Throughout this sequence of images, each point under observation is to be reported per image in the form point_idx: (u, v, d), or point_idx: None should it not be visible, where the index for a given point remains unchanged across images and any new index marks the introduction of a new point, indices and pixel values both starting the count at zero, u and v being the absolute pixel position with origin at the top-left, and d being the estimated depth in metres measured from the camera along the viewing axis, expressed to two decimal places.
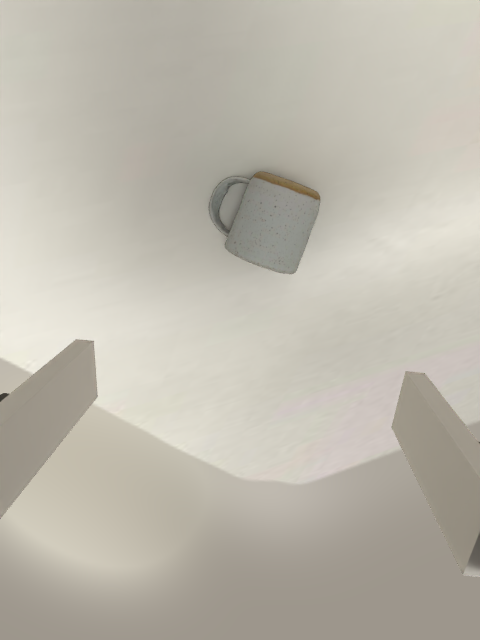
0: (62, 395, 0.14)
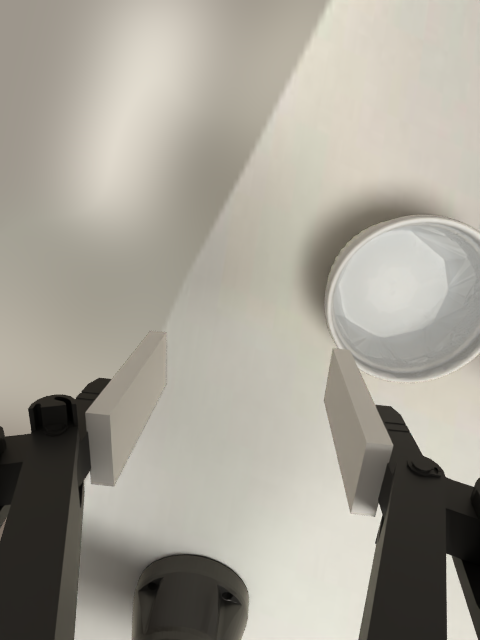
0: (148, 380, 0.15)
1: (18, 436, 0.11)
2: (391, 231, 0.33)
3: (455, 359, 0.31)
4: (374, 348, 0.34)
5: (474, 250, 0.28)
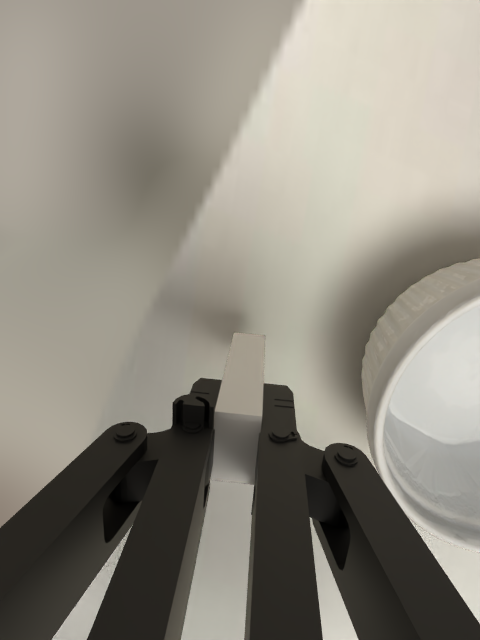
0: None
1: (153, 434, 0.12)
2: None
3: None
4: (444, 473, 0.20)
5: None
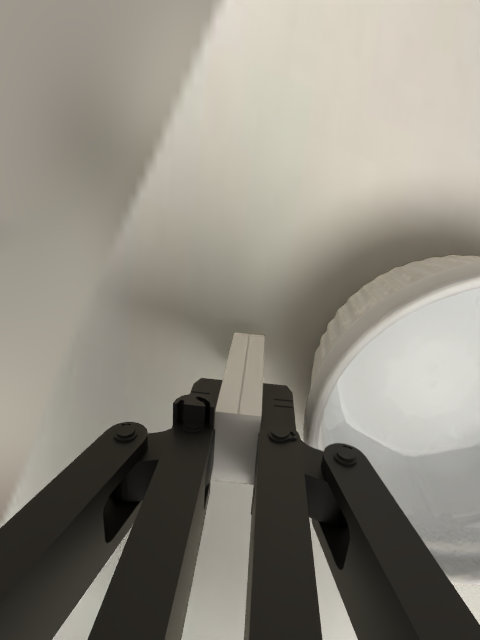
0: None
1: (153, 434, 0.12)
2: None
3: None
4: (399, 488, 0.19)
5: None
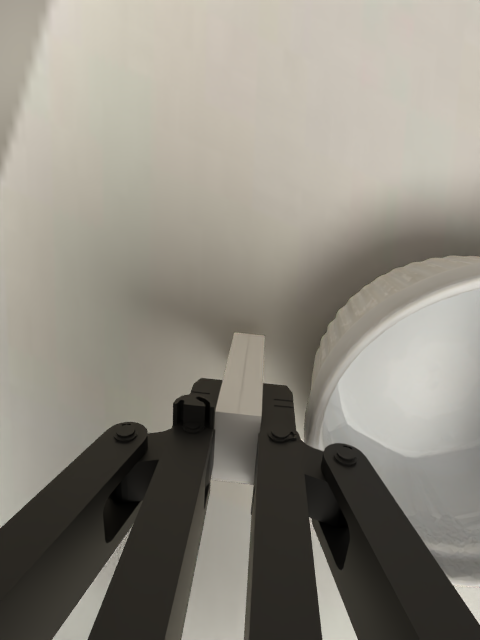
0: None
1: (153, 434, 0.12)
2: None
3: None
4: (400, 489, 0.18)
5: None
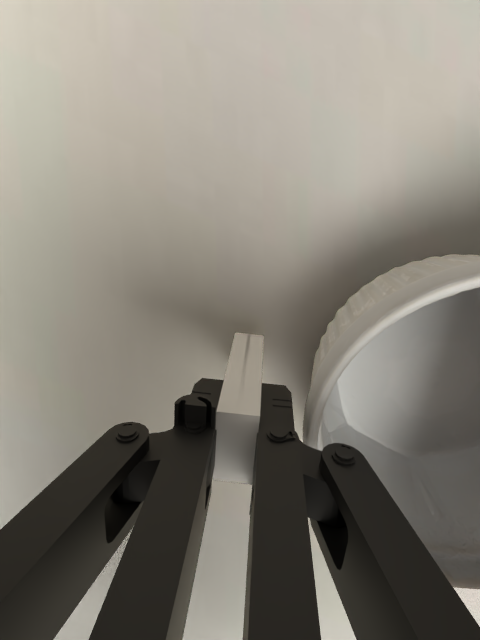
0: None
1: (155, 434, 0.12)
2: None
3: None
4: (401, 490, 0.18)
5: None
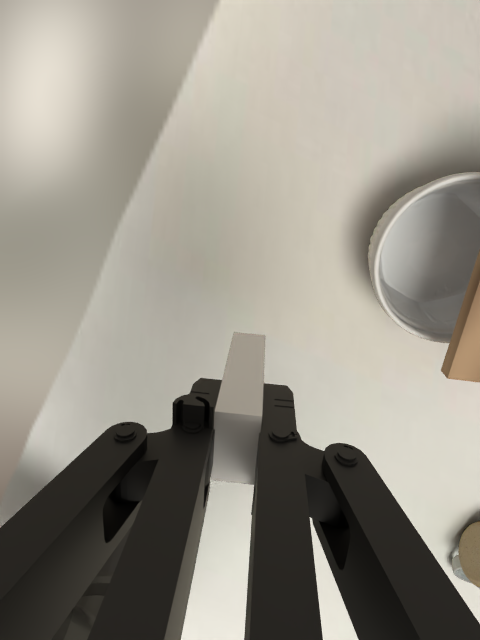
0: None
1: (153, 434, 0.12)
2: (435, 194, 0.33)
3: None
4: (415, 311, 0.34)
5: None
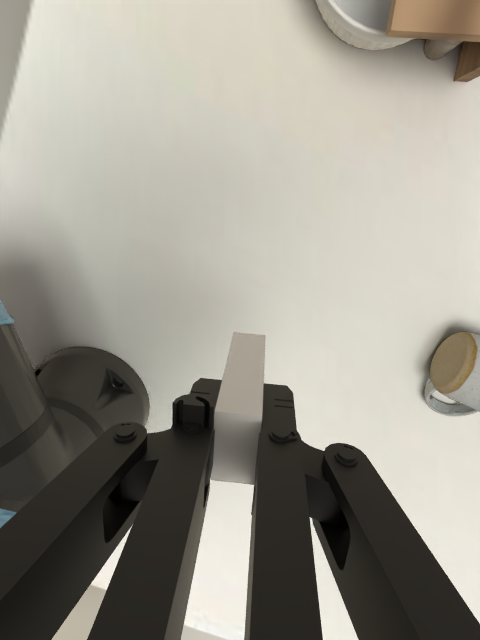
0: None
1: (153, 433, 0.12)
2: None
3: None
4: None
5: None
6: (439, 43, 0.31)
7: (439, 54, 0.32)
